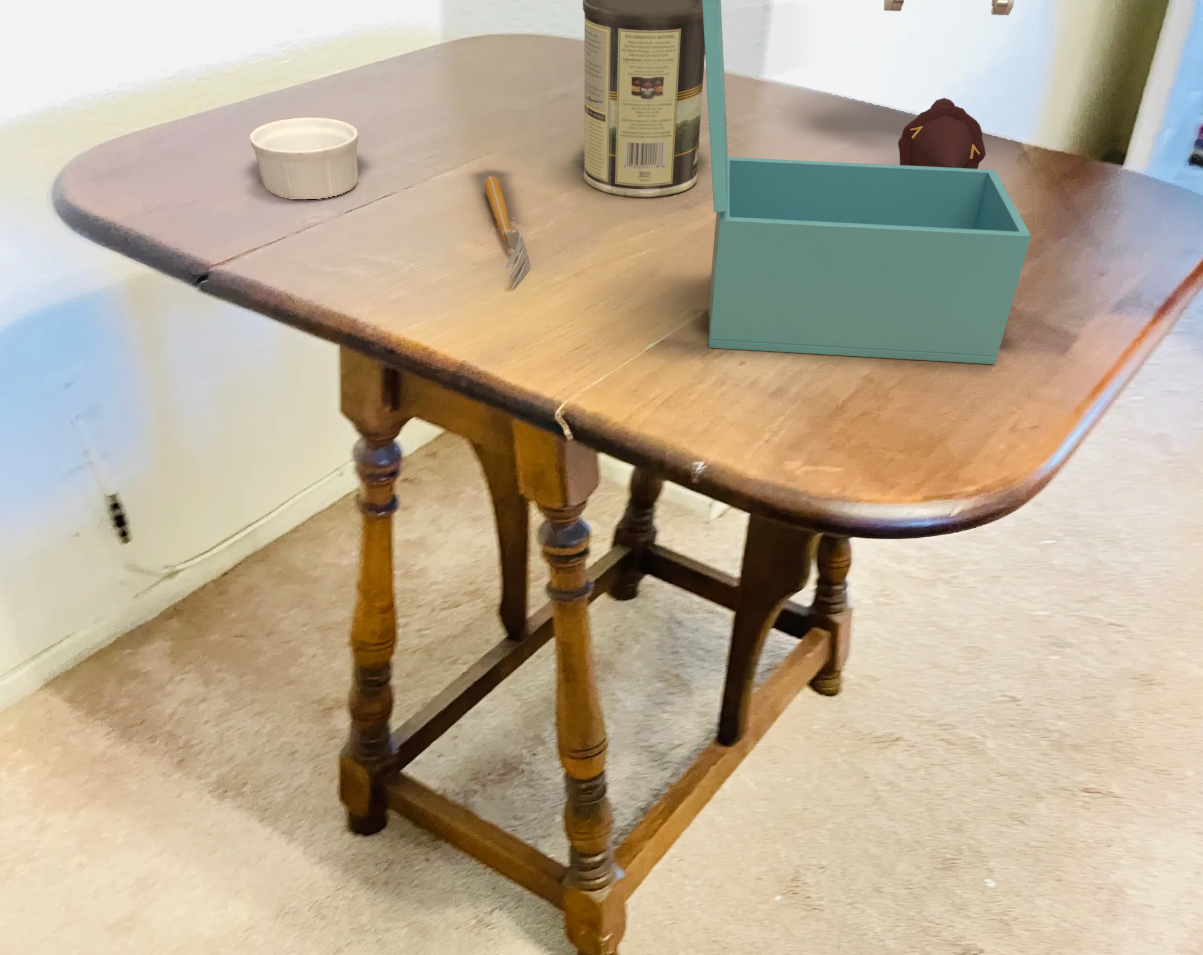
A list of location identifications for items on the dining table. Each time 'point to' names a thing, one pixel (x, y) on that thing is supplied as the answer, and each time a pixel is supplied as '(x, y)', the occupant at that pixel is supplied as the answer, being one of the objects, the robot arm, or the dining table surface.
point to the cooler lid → (716, 100)
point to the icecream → (942, 138)
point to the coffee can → (643, 95)
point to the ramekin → (307, 157)
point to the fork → (507, 229)
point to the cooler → (865, 260)
